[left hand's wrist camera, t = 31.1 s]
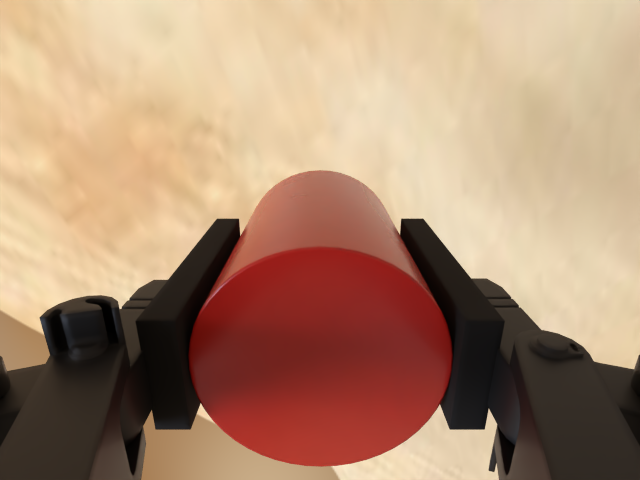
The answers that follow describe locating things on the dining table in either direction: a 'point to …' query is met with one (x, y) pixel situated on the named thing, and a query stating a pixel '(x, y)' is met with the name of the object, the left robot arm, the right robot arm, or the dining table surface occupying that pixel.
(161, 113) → the dining table surface
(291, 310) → the canister
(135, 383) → the left robot arm
